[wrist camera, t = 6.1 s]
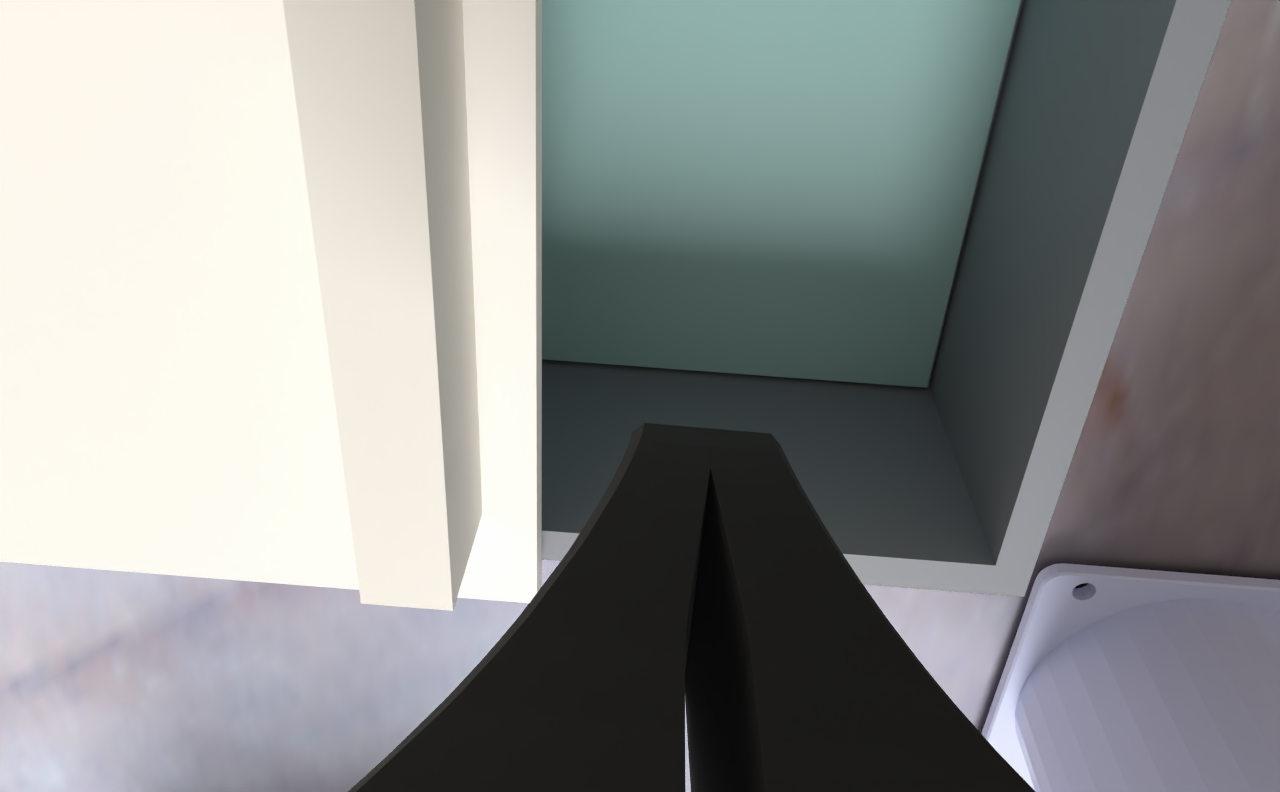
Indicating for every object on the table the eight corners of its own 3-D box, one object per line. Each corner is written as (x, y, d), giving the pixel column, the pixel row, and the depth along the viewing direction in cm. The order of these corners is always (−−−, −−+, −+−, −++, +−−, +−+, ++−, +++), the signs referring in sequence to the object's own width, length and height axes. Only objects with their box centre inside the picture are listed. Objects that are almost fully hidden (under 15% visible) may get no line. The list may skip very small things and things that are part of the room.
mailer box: (1122, -291, 15) (1347, -333, 9) (945, 398, 21) (1023, 596, 16) (50, -357, 15) (-290, -430, 10) (196, 343, 21) (36, 520, 16)
